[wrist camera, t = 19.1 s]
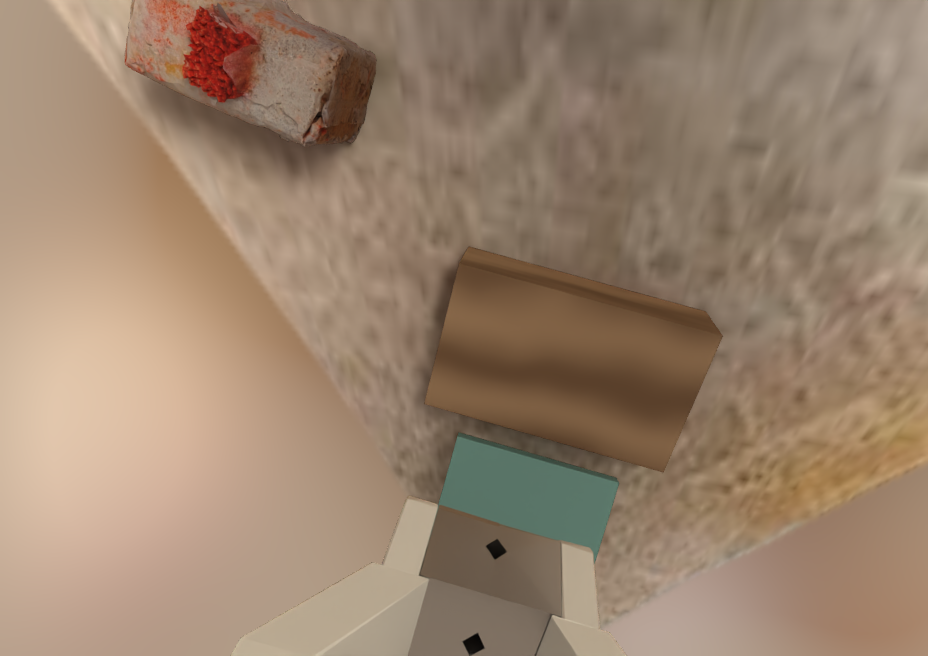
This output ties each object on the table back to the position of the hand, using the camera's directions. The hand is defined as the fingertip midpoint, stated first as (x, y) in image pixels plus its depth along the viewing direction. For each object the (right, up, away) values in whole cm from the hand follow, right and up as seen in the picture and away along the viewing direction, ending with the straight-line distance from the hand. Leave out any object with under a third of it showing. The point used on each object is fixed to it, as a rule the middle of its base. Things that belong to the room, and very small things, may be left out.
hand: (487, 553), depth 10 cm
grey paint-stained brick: (-13, +22, +34) cm, 43 cm away
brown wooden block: (+7, +2, +38) cm, 39 cm away
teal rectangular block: (+5, -6, +36) cm, 37 cm away
